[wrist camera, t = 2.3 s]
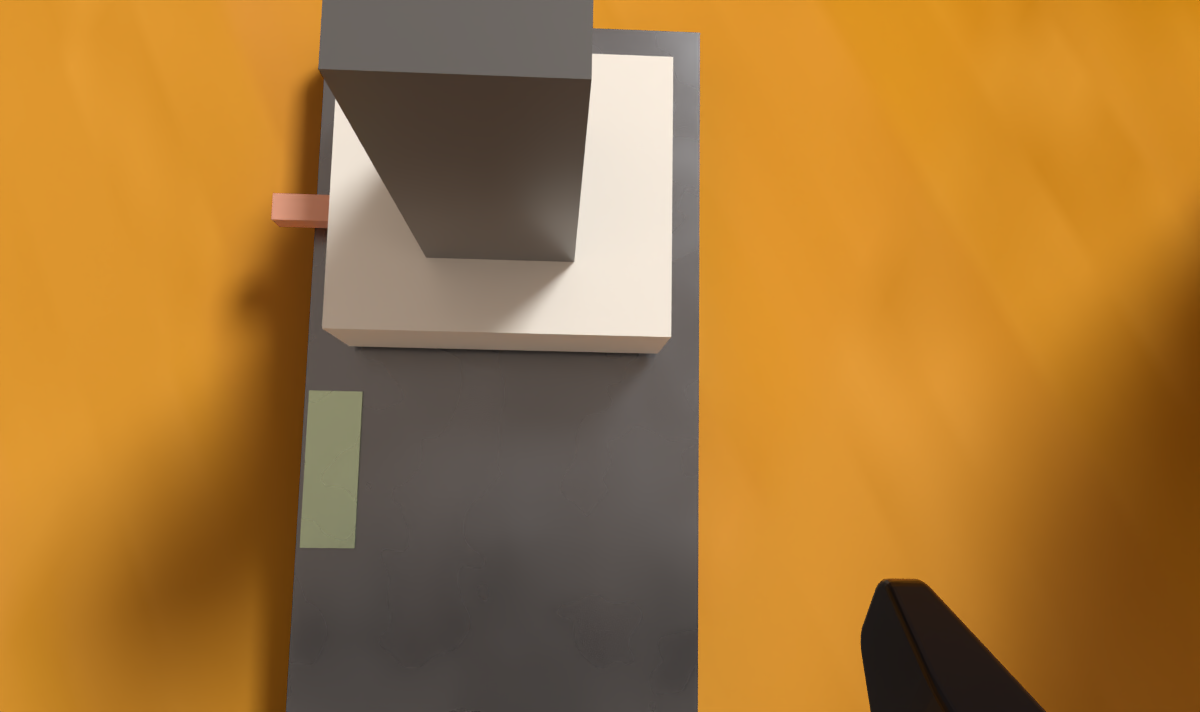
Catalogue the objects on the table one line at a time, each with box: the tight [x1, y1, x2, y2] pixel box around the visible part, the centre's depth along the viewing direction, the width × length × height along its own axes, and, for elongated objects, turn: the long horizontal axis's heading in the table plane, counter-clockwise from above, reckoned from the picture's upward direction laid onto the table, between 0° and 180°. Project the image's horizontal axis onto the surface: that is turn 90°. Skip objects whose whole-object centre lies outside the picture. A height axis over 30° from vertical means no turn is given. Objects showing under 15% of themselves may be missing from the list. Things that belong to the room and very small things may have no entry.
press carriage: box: [271, 0, 673, 354], centre depth 16 cm, size 6×9×11 cm
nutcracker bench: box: [286, 28, 700, 712], centre depth 20 cm, size 22×9×5 cm, turn 179°
